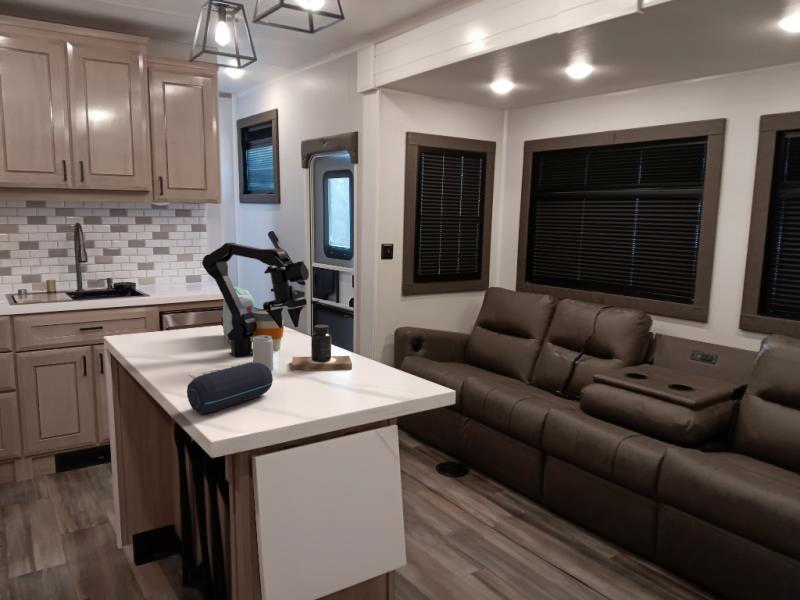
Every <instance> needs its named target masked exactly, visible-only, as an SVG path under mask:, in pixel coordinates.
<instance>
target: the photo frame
mask: <svg viewBox="0 0 800 600" xmlns="http://www.w3.org/2000/svg"><path fill="white" fill-rule="evenodd" d="M231 367H233V366H231V365H230V366H225V367H218V368H214V369H208V370H202V371H195V372H189V373H188V375H189V376H190V377H192V378H193V379H194V378H196V377H198V376H201V375H204V374H208V373H211V372H216V371H218V370H223V369H225V368H231Z"/></svg>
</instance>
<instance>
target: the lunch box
mask: <svg viewBox="0 0 800 600" xmlns="http://www.w3.org/2000/svg"><path fill="white" fill-rule="evenodd" d="M242 288H243V287H242V286H235V287H234V289H235V291H236V293H237V295H238V297H239V299H240V301H241V303H242V305H243V307H244V309H245V310H246V311H247V312H252V311H253V310H255V303H254V302H255V301H254V298H253V295H252V294H250V292H248V291H247V290H246V289H242ZM220 318H221V327H222V331H223V335H224V337H225V338H226V340H227V341H228V342H229V343H230V344H231V340H229V339H228V336H227V334H228V333H229V332H230V331H231V330H232V329H233V326H232V314H231V312H230V310H229V308H228V306H227V304H226V302H225V299H224V298H223V304H222V316H221V317H220ZM249 338H250V341H251V342H252V343H253V340H254V338H253V336H252V337H249Z"/></svg>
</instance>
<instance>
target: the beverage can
mask: <svg viewBox="0 0 800 600" xmlns="http://www.w3.org/2000/svg"><path fill="white" fill-rule="evenodd" d="M252 354H253V355H252V362H255V363H262V364H264V365H266V366H267V367H268V368H269V369H270V371H271V372H273V371H274V352H273V340H272V337H271V336H269V335H259V336H255V337H254V340H253V342H252Z"/></svg>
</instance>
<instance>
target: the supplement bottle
mask: <svg viewBox="0 0 800 600" xmlns="http://www.w3.org/2000/svg"><path fill="white" fill-rule="evenodd" d="M313 330H314V331H313V332H314V333H313V334H311V337H310V338H311V341H310V342H311V343H310V344H311V345H310V346H311V348H310V349H311V351H310V353H311V355H310V357H311V359H312V361H314V362H328V361H330V360H331V356H332V335H331V334H330V332H329V325H326V324H316V325H314V328H313Z"/></svg>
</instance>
